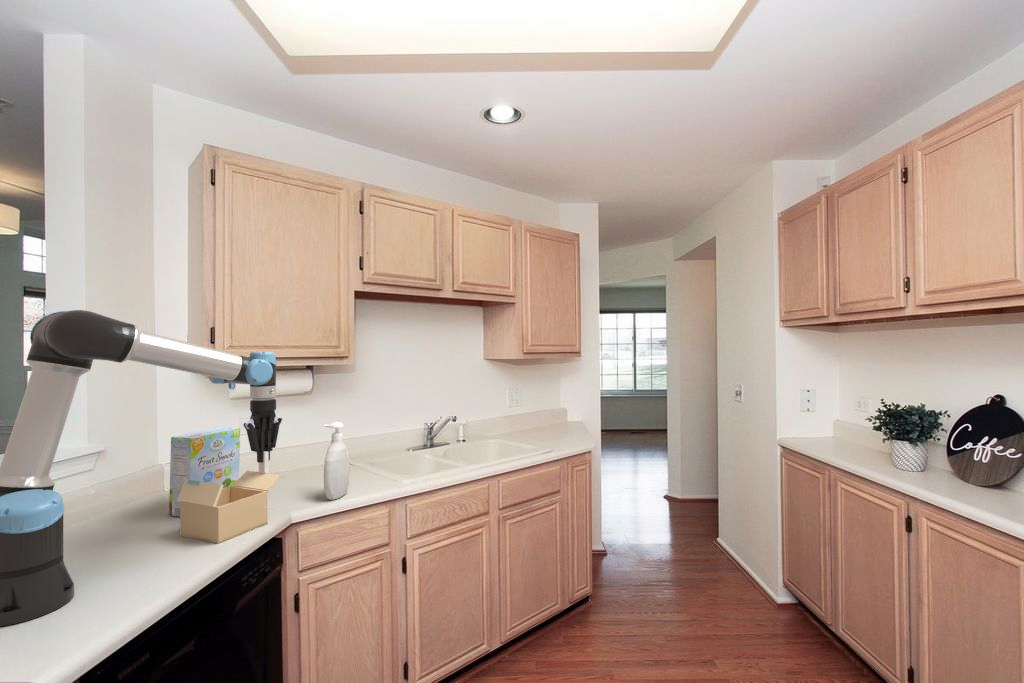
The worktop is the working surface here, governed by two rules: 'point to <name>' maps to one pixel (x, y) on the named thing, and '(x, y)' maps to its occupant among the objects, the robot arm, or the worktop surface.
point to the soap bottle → (336, 465)
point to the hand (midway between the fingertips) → (263, 471)
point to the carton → (224, 515)
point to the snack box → (203, 460)
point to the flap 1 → (200, 492)
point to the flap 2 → (257, 480)
